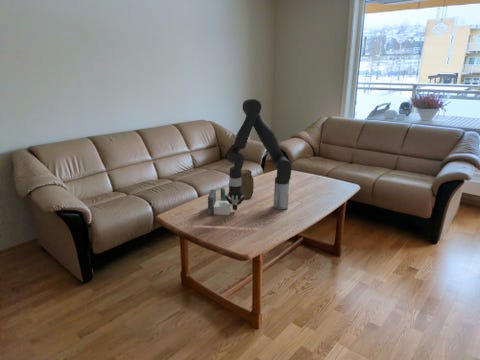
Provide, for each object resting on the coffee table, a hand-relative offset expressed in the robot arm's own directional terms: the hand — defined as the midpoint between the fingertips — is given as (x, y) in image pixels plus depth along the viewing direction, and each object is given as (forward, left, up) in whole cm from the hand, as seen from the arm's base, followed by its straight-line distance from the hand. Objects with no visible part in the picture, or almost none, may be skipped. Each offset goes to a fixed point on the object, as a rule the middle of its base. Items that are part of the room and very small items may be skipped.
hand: (234, 210), depth 214 cm
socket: (+8, 0, -1) cm, 8 cm away
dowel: (+9, -12, -3) cm, 15 cm away
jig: (+6, 0, -3) cm, 6 cm away
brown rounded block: (-5, -28, -3) cm, 29 cm away
